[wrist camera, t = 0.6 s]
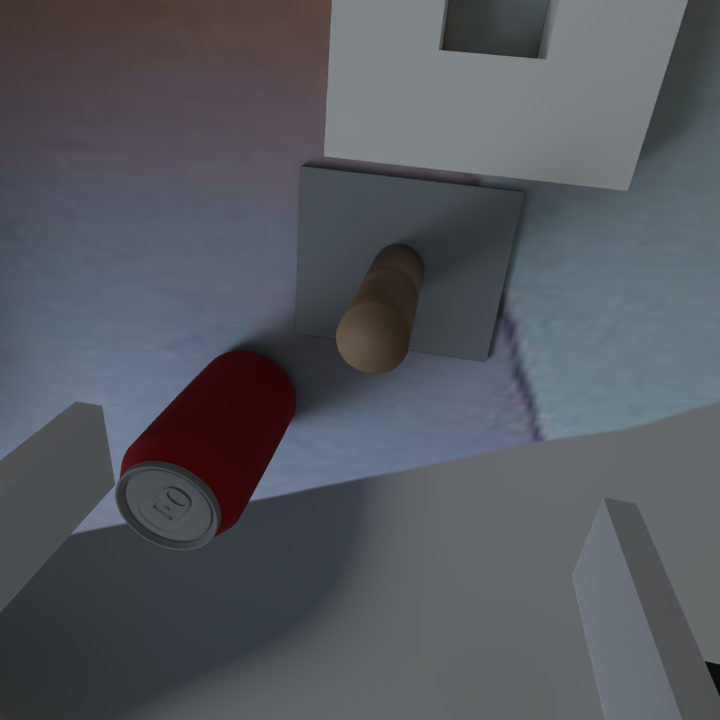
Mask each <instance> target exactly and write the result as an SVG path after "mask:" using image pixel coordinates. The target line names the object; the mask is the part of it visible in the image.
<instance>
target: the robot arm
mask: <svg viewBox="0 0 720 720" xmlns="http://www.w3.org/2000/svg"><path fill="white" fill-rule="evenodd" d="M114 486H115V480H114V475H113V469H112V463H111V457H110V451H109V445H108V439H107V433H106V427H105V421H104V415H103V409H102V406H98V405H93V404H87V403H82V402H75V403H73V404H72V405H71V406H70V407H68V408H67V409H66V410H64V411H63V412H62V413H61V414H59V415H58V416H57V417H55V418H54V419H53V420H52V421H50V422H49V423H48V424H47V425H45V426H44V427H43V428H41V429H40V430H39V431H38V432H36V433H35V434H34V435H32V436H31V437H30V438H29V439H27V440H26V441H25V442H23V443H22V444H21V445H20V446H18V447H17V448H16V449H14V450H13V451H12V452H11V453H9V454H8V455H7V456H5V457H4V458H3V459H2V460H0V612H1V611H2V610H3V608H4V607H5V606H6V605H7V604H8V603H9V602H10V601H11V600H12V599H13V598H14V596H15V595H16V594H17V593H18V592H19V591H20V590H21V589H22V588H23V586H24V585H25V584H26V583H27V582H28V581H29V580H30V579H31V577H32V576H33V575H34V574H35V573H36V572H37V571H38V570H39V569H40V568H41V566H42V565H43V564H44V563H45V562H46V561H47V560H48V559H49V558H50V556H51V555H52V554H53V553H54V552H55V551H56V550H57V549H58V548H59V547H60V545H61V544H62V543H63V542H64V541H65V540H66V539H67V538H68V537H69V535H70V534H71V533H72V532H73V531H74V530H75V529H76V528H77V527H78V525H79V524H80V523H81V522H82V521H83V520H84V519H85V518H86V517H87V515H88V514H89V513H90V512H91V511H92V510H93V509H94V508H95V507H96V505H97V504H98V503H99V502H100V501H101V500H102V499H103V498H104V497H105V496H106V494H107V493H108V492H109V491H110V490H111V489H112V488H113V487H114ZM572 580H573V584H574V588H575V593H576V597H577V601H578V606H579V610H580V615H581V619H582V623H583V628H584V632H585V636H586V640H587V645H588V649H589V654H590V658H591V662H592V667H593V671H594V675H595V679H596V684H597V688H598V693H599V697H600V701H601V706H602V710H603V714H604V719H605V720H720V664H715V663H710V662H706V661H704V659H703V657H702V655H701V652H700V650H699V648H698V645H697V643H696V641H695V638H694V636H693V634H692V631H691V629H690V627H689V624H688V622H687V620H686V617H685V615H684V613H683V610H682V608H681V606H680V604H679V601H678V599H677V597H676V594H675V592H674V590H673V587H672V585H671V583H670V580H669V578H668V576H667V574H666V571H665V569H664V567H663V564H662V562H661V560H660V557H659V555H658V553H657V550H656V548H655V546H654V543H653V541H652V539H651V536H650V534H649V532H648V530H647V527H646V525H645V522H644V520H643V518H642V516H641V513H640V511H639V509H638V506H637V504H636V503H631V502H625V501H620V500H614V499H609V498H603V500H602V502H601V504H600V507H599V509H598V512H597V515H596V517H595V519H594V522H593V524H592V527H591V530H590V532H589V534H588V537H587V539H586V542H585V544H584V547H583V549H582V552H581V554H580V557H579V559H578V562H577V564H576V567H575V569H574V572H573V574H572Z"/></svg>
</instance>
